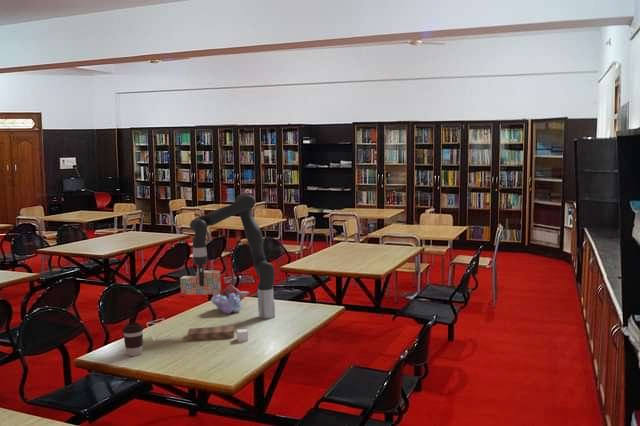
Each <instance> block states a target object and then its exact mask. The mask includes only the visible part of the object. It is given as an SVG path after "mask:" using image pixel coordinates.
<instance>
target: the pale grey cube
mask: <svg viewBox="0 0 640 426" xmlns="http://www.w3.org/2000/svg"><path fill="white" fill-rule="evenodd" d="M236 338H237V339H236V340H237V341H238V343H240V342H248V341H249V332H248V329H247V328H242V329H241V328H240V329H237V330H236Z"/></svg>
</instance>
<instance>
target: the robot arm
mask: <svg viewBox="0 0 640 426" xmlns="http://www.w3.org/2000/svg"><path fill="white" fill-rule="evenodd" d="M255 205H256V199H255V198H254V196H253V195H252V194H245V193H242V194H241V193H240V194H238V195H237V196H236V197H235V201H234V203H231V204H229V205H225V206H223V207H220V208H216V209H215V210H213V211H210V212H208V213H207V214H204V215H201V216H198V217H196V218H194V219H192V220H191V222H190V223H189V227H190V230H192V231H193V232H194V236H193V238H192V262H193V265H197V266H196V273H197V272H198V276H199V281H200V286H204V271H205V266H204V265H205V264H208V252H207V241H206V238H207V233H208V232H207V231H208V227H209V226H215V225H216V224H218V223H221V222H222V221H224V220H226V219H229V218H230V217H232V216H236V215H237V214H238V215H239V217H240V221H241V223H242V227H243V230H244V235H245V238H246V241H247V244H248V247H249V250H250V253H251V256H252V260H253V261H252V262H253V267H254V271H255V273H256V275H257V276H259V283H257V306H258V318H260V319H265V320H266V319H271V318H275V317H276V313H275V312H276V310H275V309H276V308H275V299H274V285H275V284H274V283H275V267H274V264H272V263H270V262H268V261H267V259H266V257H265V254H264V237H263V233H262V230H261V228H260V226H259V224H258V222H257V221H256V220H255V218H254V216H253V213H252V211H251V210H252V209H254V207H255ZM201 275H203V276H202V277H200V276H201Z"/></svg>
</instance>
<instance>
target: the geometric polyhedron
mask: <svg viewBox="0 0 640 426" xmlns="http://www.w3.org/2000/svg"><path fill="white" fill-rule="evenodd" d="M159 320H161V321H160V323H159V322H158V323H157V321H159ZM162 322H163V323H162ZM148 324H149V325H151V324H153V325H155V324H156V325H158V326H157V327H156V330H155V331H154V332H153V333H152V331H151V329H150V326H149V325H148ZM160 325H163V326H162V327H161V330H160V331H159V333H158V335H157V334H155V333H156V331H157V330H158V328H159V327H160ZM146 326H147V329H148V331H149V333H150V335H151V338H152V339H153V341H155V342H157V341H160V340H163V339H166V338H170V337H171V336H172V335H171V333H170V329H169V327H168V325H167V323H166V321H165V318H160V319H156V320H152V321H149V322H146ZM164 326H165V327H166V328H167V331H168V332H169V335H168V336H165V337H163V338H160V339H158V337H161V334H160V333H161V332H162V330H163V329H164ZM155 336H156V337H155ZM154 337H155V338H154ZM156 339H157V340H156Z"/></svg>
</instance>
